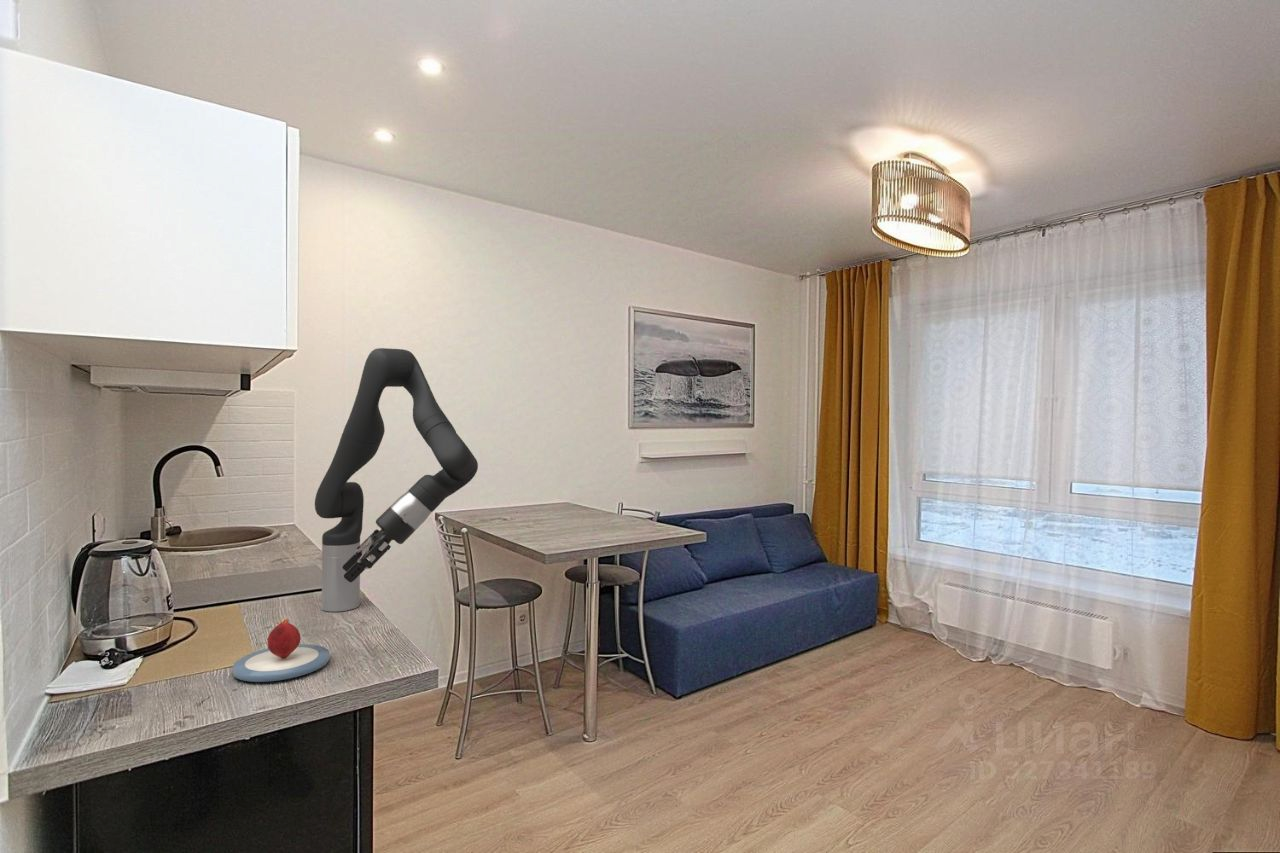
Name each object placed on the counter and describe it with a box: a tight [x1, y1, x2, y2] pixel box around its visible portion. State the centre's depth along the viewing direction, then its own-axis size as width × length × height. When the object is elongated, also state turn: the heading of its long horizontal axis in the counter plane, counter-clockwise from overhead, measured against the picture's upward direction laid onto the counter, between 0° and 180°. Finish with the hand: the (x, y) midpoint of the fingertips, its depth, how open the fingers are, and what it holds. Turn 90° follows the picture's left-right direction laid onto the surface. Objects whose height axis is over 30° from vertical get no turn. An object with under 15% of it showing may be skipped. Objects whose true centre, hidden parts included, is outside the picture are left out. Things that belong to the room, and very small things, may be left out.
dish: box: [232, 643, 330, 683], centre depth 130 cm, size 17×17×2 cm
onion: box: [267, 618, 302, 658], centre depth 130 cm, size 6×6×8 cm
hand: (346, 574), depth 135 cm, fingers open, 8 cm apart
